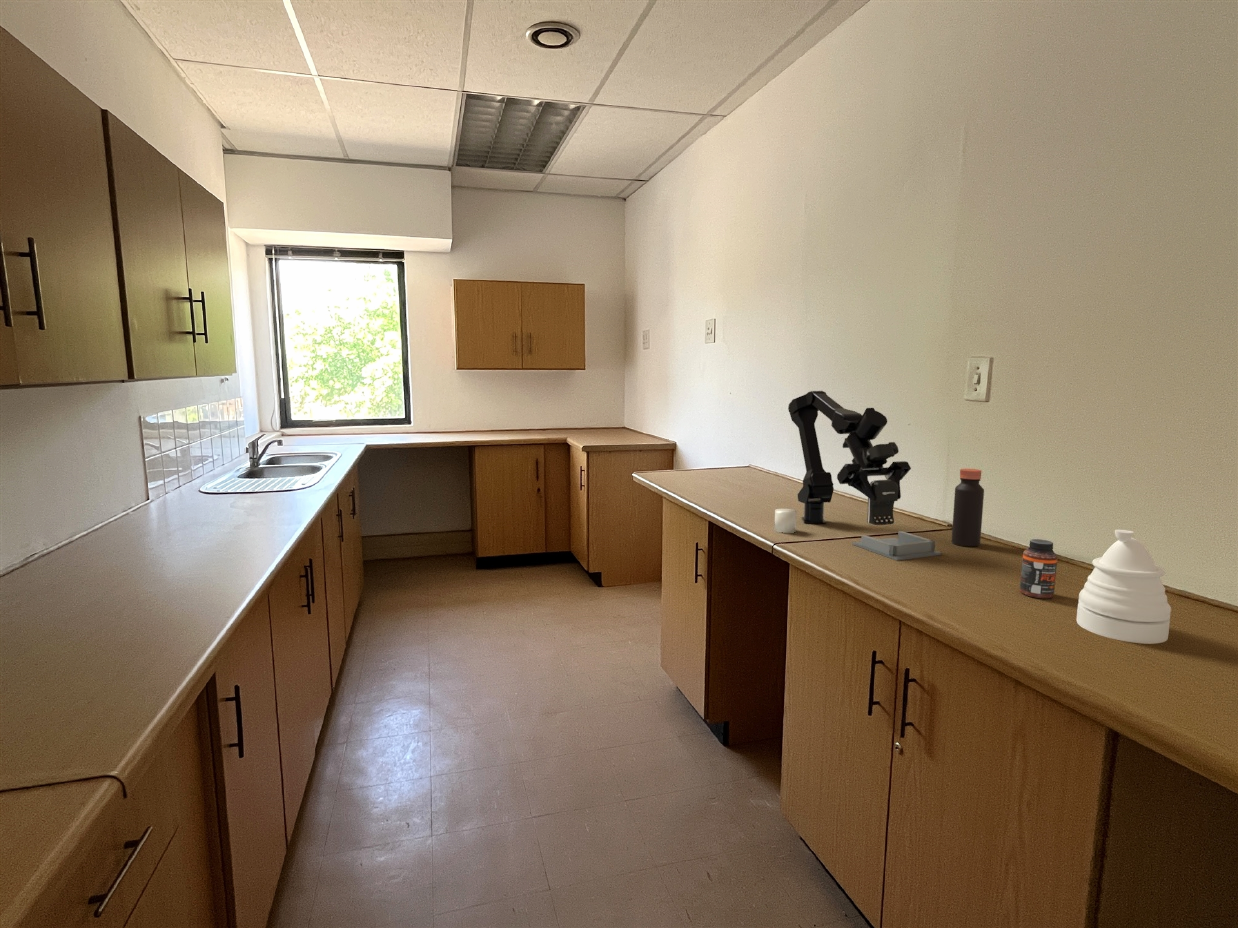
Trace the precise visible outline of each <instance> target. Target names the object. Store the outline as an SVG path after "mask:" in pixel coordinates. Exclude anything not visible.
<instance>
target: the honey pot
mask: <svg viewBox="0 0 1238 928" xmlns="http://www.w3.org/2000/svg"><path fill="white" fill-rule="evenodd" d="M1134 532H1135V531H1132V530H1128V529H1114V536H1115V538H1116V541H1115V542H1114V543H1112V545H1110V546H1109V547H1108V549H1106V551H1105V552H1104V553H1103V555H1102V556H1100V557H1097V558H1094V559H1093V560H1092V565H1093V567H1094V568H1093V570H1092V572H1091V573H1090V574H1088V576H1087V581H1086V582H1085V583H1084V586H1083V588H1082V589H1081V590H1080V592H1079V594H1078V600H1077V601H1078V603H1077V611H1076V623H1077V625H1079V627H1081V628H1083V629H1084V630H1086V631H1088V632H1091V633H1093V634H1096V635H1098V636H1102V637H1105V638H1108V639H1112V640H1118V641H1122V642H1128V643H1132V644H1133V643H1134V644H1136V643H1137V644H1145V645H1147V644H1149V645H1150V644H1151V645H1152V644H1161V643H1165V642H1167V641H1168V638H1169V633H1170V632H1169V631H1170V622H1171V619H1170V618H1171V613H1172V607H1171V605H1170V604H1169V603H1168V596H1167V595H1166V588H1165V586H1164V585H1163V581H1162V577H1163V576H1165V574H1166V570H1165V569H1164V567H1162V566H1160V565H1158V564H1156V563H1155V561H1154V559H1153V557H1152V555H1151V553H1150V552H1149V551H1148V549H1147V547H1146V546H1145V545H1144V544H1143V543H1142V542H1141V541H1140V540H1139V539H1137V538H1134V537H1133V536H1134Z"/></svg>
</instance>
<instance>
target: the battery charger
mask: <svg viewBox="0 0 1238 928" xmlns="http://www.w3.org/2000/svg"><path fill="white" fill-rule="evenodd" d="M869 483H870V485H871V487H872V489H873V492H874V494H875V497H876V499H875V501H872V500H871V499H870V498H868V497H867V518H866V523H867V524H869V525H874V526H886V525H894V524H895V518H894V507H895V502H898V501H899V499H898V485H897V483H896V482H894V481H891V480H887V479H875V480H874V479H873V480H872V481H870V482H869Z"/></svg>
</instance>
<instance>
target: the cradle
mask: <svg viewBox="0 0 1238 928" xmlns="http://www.w3.org/2000/svg"><path fill="white" fill-rule="evenodd" d="M897 532H898V533H897V534H898V535H897V537H888V538H880V539H877V538H875V537H872V536H868V535H861V540H860V541H855V542H854V541H852V546H853V545H854V546H856V547H858V548H861V549H863V550H866V551H870V552H873V553H875V554H878V555H880V556H883V557H885V558H889V559H891V560H894V561H897V562H898V561H904V560H914V559H919V558H928V557H935V556H941V555H942V552H941V551H938V550H935V549H936V541H935V540H932V539H929V538H926V537H923V536H919V535H915V534H913V533H908V532H906V531H902V530H901V531H897Z"/></svg>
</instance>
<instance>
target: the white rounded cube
mask: <svg viewBox="0 0 1238 928" xmlns="http://www.w3.org/2000/svg"><path fill="white" fill-rule="evenodd" d="M796 531H797V510H796V509H793V508H776V509H774V532H775V533H779V532H783V533H782V534H795V533H796ZM794 532H795V533H794Z"/></svg>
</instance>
